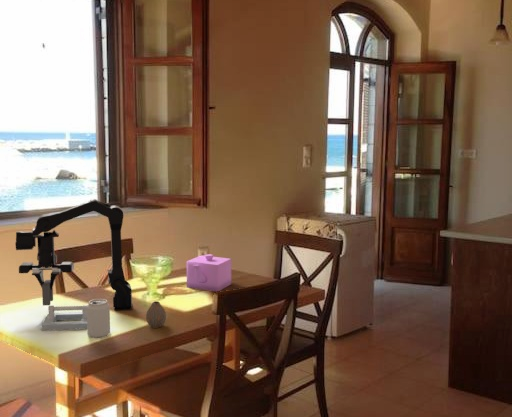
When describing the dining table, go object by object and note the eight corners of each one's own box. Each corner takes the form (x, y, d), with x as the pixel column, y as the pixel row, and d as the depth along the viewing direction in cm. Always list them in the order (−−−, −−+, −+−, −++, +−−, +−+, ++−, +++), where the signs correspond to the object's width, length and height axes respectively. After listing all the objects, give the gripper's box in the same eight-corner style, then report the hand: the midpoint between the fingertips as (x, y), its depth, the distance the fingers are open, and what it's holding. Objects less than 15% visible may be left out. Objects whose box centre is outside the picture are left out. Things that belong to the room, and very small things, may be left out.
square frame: (93, 316, 223) (93, 299, 222) (89, 328, 211) (88, 310, 210) (49, 318, 221) (48, 300, 220) (41, 330, 208) (40, 312, 207)
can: (89, 331, 208) (88, 297, 206) (111, 331, 209) (111, 297, 207) (85, 339, 201) (84, 304, 199) (108, 339, 201) (107, 304, 200)
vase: (157, 330, 210) (156, 306, 208) (142, 327, 213) (141, 303, 212) (170, 325, 215) (169, 301, 214) (155, 321, 219) (155, 298, 218)
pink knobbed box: (178, 291, 257) (178, 259, 255) (206, 277, 279) (206, 248, 277) (209, 296, 251) (209, 263, 249) (235, 281, 273) (236, 251, 271)
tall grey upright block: (53, 299, 229) (52, 279, 228) (49, 305, 222) (48, 284, 221) (46, 299, 229) (45, 279, 228) (42, 305, 222) (42, 284, 221)
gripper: (75, 243, 232) (76, 283, 234) (24, 244, 229) (26, 284, 231) (70, 250, 221) (72, 291, 223) (17, 251, 218) (19, 292, 221)
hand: (47, 289), depth 225 cm, fingers closed on tall grey upright block, 2 cm apart
